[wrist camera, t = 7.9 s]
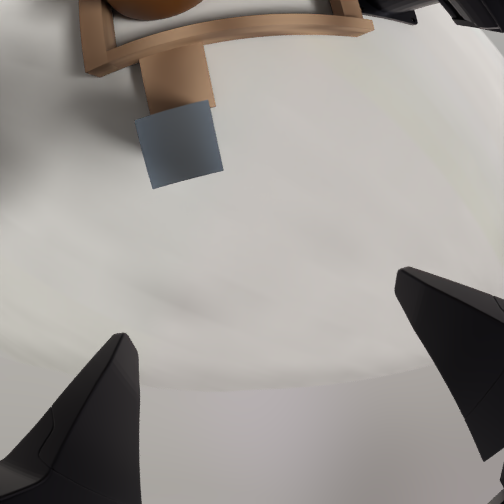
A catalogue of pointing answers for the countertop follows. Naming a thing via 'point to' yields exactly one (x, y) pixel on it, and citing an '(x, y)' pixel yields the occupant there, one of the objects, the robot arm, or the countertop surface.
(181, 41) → the brown frame with handle
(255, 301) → the countertop surface
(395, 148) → the countertop surface
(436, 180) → the countertop surface
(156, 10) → the mug
